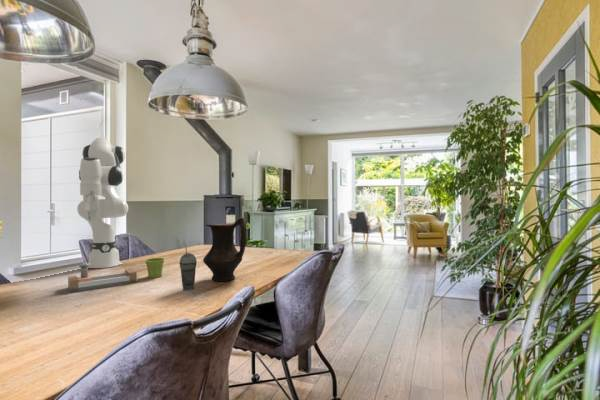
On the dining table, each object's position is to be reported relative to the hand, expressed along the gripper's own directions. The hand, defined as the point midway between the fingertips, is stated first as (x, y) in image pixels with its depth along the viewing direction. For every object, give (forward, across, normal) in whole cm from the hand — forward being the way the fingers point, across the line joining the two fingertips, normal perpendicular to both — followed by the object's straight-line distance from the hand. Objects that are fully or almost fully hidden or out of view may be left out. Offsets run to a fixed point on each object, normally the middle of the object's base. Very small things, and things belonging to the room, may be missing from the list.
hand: (91, 220), depth 163 cm
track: (+29, -11, -3) cm, 31 cm away
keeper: (+27, -11, +4) cm, 30 cm away
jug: (+29, -37, -51) cm, 69 cm away
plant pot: (+29, -9, -26) cm, 40 cm away
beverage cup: (+29, -43, -31) cm, 61 cm away
